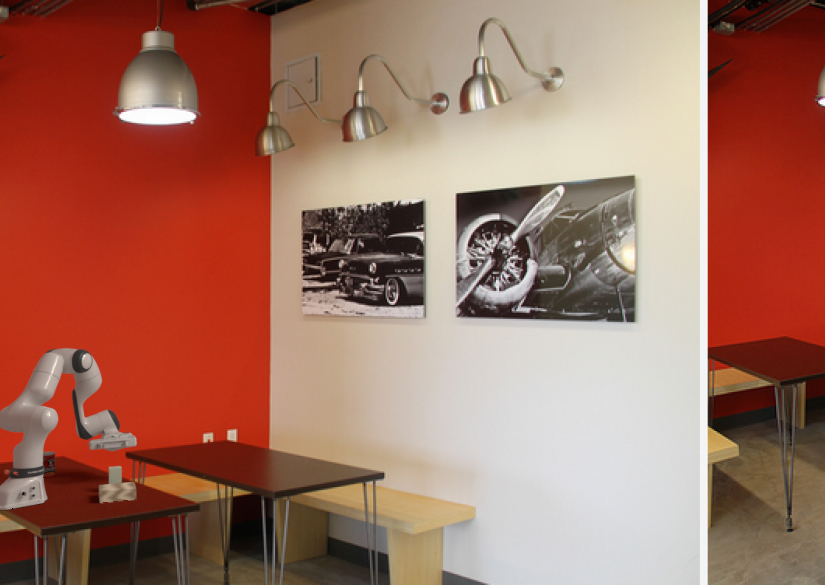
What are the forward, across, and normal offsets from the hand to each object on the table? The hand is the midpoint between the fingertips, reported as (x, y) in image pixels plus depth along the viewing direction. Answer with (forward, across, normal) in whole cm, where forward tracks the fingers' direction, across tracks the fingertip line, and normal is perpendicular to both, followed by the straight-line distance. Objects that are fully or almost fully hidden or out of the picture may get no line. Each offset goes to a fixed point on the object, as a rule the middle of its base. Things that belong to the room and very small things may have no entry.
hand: (113, 445), depth 357 cm
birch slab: (+27, 0, +18) cm, 33 cm away
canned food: (-36, -28, +18) cm, 49 cm away
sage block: (+12, 0, +17) cm, 21 cm away
